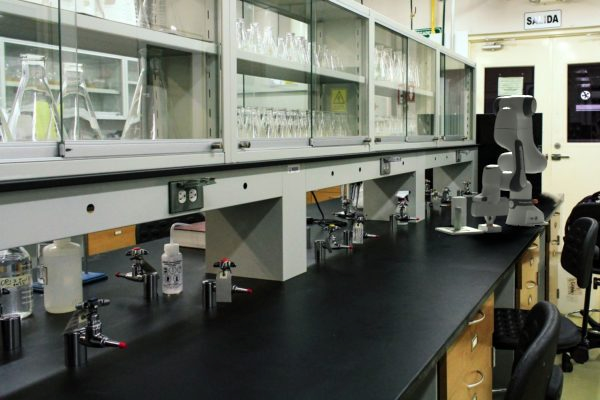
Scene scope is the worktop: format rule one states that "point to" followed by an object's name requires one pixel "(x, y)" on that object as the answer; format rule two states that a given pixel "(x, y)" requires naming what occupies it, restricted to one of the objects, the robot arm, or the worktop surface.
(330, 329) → the worktop surface
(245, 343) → the worktop surface
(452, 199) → the skincare box
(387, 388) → the worktop surface
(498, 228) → the button housing
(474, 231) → the board
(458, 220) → the sage marker
